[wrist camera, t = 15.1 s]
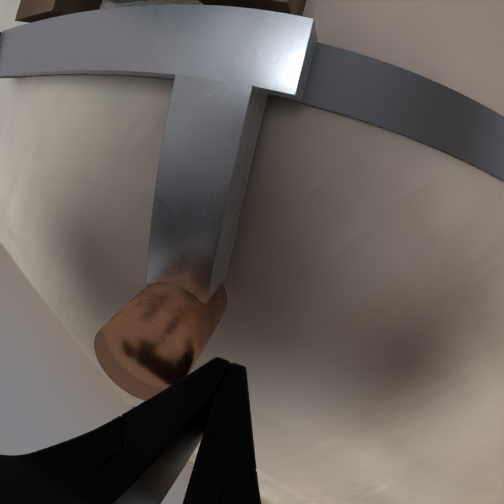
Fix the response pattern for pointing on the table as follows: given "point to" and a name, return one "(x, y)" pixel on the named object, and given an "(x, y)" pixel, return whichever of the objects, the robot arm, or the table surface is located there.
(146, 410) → the robot arm
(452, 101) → the mount
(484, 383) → the table surface
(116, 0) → the slate blue cuboid
